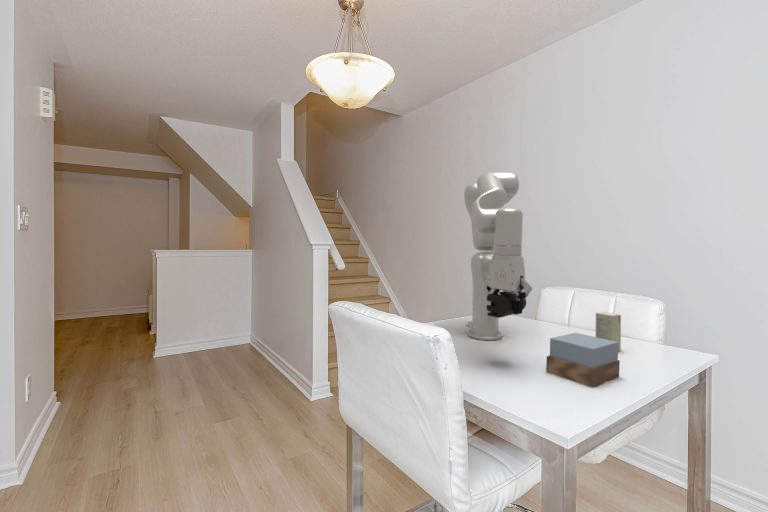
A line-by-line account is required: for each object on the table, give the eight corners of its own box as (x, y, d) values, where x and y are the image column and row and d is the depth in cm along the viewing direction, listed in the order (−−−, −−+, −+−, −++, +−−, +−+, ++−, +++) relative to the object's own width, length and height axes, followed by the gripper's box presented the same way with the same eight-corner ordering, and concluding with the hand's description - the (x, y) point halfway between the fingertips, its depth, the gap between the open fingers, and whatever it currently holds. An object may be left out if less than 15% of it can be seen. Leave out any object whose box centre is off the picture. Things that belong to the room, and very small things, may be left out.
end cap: (506, 320, 108) (507, 296, 107) (485, 315, 113) (486, 292, 113) (526, 314, 114) (527, 292, 113) (505, 310, 120) (505, 289, 119)
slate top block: (549, 356, 107) (550, 338, 107) (575, 349, 113) (575, 332, 113) (592, 368, 97) (593, 349, 97) (617, 360, 103) (618, 342, 103)
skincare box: (621, 351, 126) (622, 314, 125) (611, 353, 124) (612, 315, 124) (603, 346, 132) (604, 311, 131) (594, 348, 130) (595, 312, 130)
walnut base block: (546, 373, 107) (546, 356, 107) (572, 365, 114) (572, 348, 114) (593, 389, 96) (593, 369, 96) (618, 378, 103) (619, 360, 103)
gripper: (476, 250, 117) (475, 307, 119) (525, 254, 103) (523, 319, 104) (493, 249, 121) (491, 304, 123) (542, 252, 107) (540, 315, 108)
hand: (506, 310), depth 114 cm, fingers closed on end cap, 7 cm apart
